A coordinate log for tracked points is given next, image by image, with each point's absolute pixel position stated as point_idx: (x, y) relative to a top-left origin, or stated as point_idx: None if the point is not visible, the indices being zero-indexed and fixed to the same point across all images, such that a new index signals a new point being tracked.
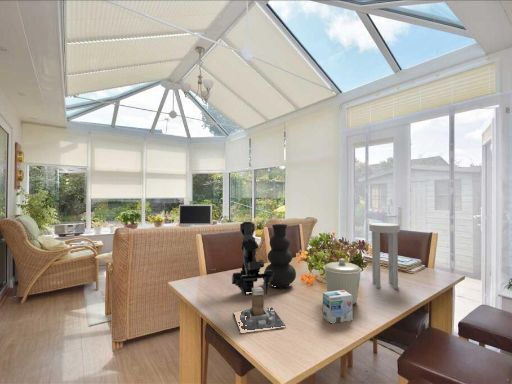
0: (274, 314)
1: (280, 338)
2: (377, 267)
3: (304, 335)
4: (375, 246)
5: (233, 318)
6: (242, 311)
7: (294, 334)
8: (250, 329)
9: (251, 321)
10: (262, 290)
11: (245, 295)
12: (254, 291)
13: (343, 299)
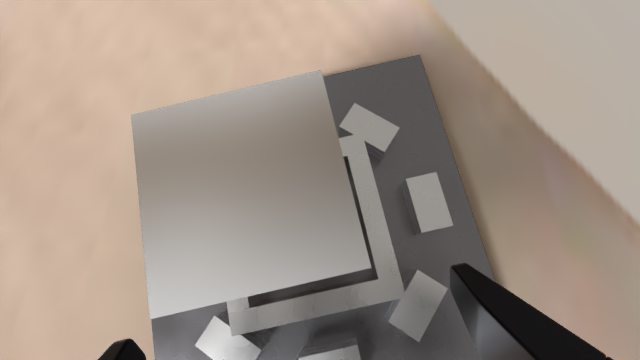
0: None
1: (196, 24)
2: None
3: (65, 52)
4: None
5: (496, 275)
6: (439, 296)
7: (113, 60)
8: (357, 74)
9: (352, 114)
10: (151, 115)
11: (462, 264)
12: (310, 75)
13: None
